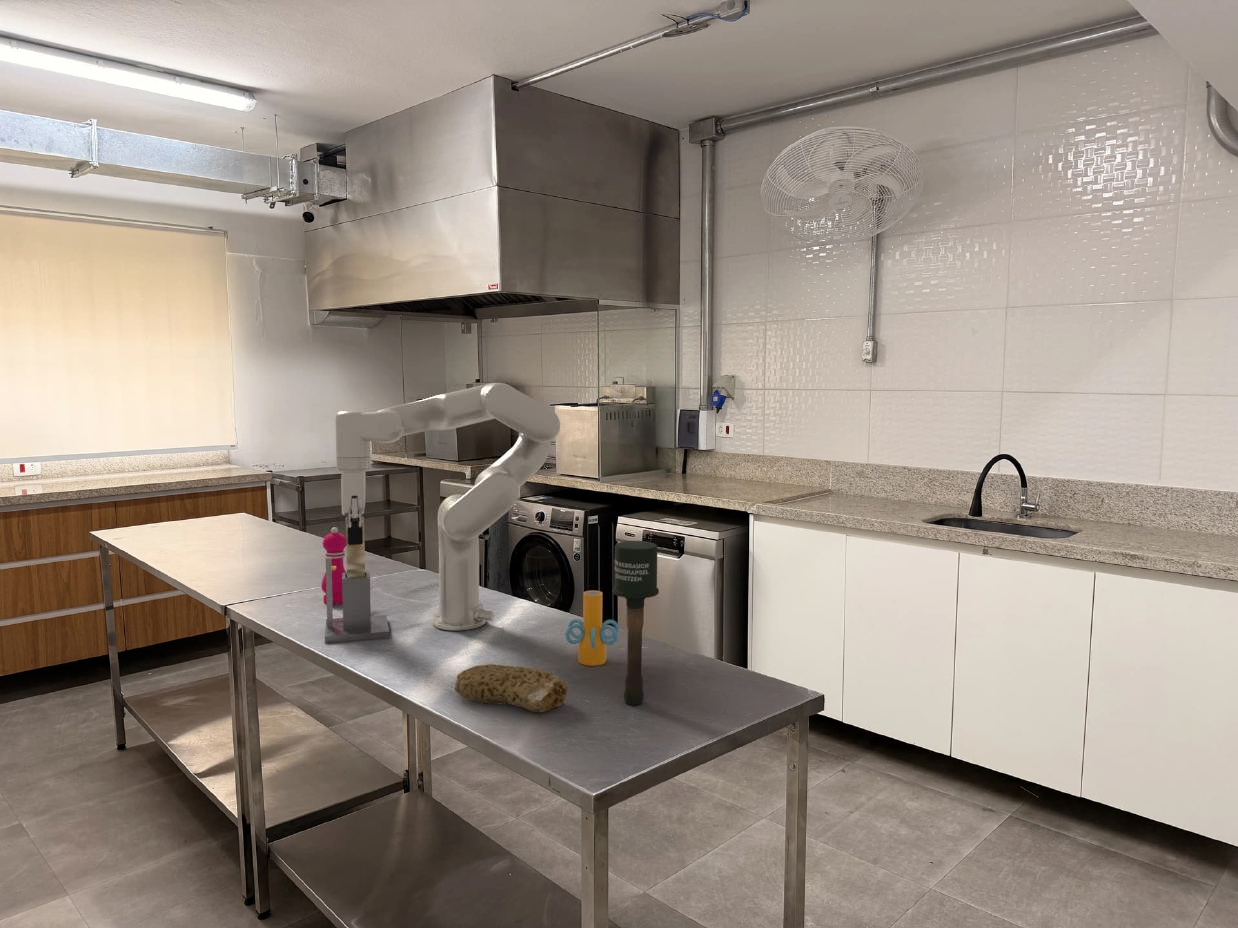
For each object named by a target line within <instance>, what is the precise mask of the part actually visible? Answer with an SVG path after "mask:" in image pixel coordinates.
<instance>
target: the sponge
mask: <svg viewBox="0 0 1238 928" xmlns="http://www.w3.org/2000/svg"><path fill="white" fill-rule="evenodd" d="M456 679H457V680H456V682H455V684H454V686H455V687H454V691H455V692H456V694H458V695H459V696H461V698H463V699H466V700H469V701H471V702H477V703H481V704H494V705H497V704H499V703H502V704H504V703H508V704H507V705H513V706H518V707H521V708H524V709H526V710H529V711H530V712H533V713H534V712H535V713H544V712H547V711H549V710H550V709H556V708H555V707H557V708H560V707H561V706H562V705H563V704H564V703H565V699H566V696H567V694H568V692H569V687H568V682H567V681H565V680H564V679H563V678H561V677H560V676H557V675H554V674H553V673H551V672H548V671H546V670H544V669H538V668H537V669H536V668H532V667H522V666H509V665H503V664H481V665H474V666H472V667H469V668H466V669H464V670H463V671H461V672H460V673H458V674H457V675H456ZM499 705H500V704H499ZM553 707H554V708H553Z"/></svg>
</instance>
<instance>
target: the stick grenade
mask: <svg viewBox="0 0 1238 928" xmlns="http://www.w3.org/2000/svg"><path fill="white" fill-rule="evenodd" d="M613 579H614V582H613V587H612V590H611V592H612V594H613V595H615V596H616V597H621V598H624V599H625V600H626V601H625V602H626V627H627V653H626V655H627V656H626V657H627V658H626V659H627V662H626V663H627V667H626V671H627V672H626V676H625V680H624V682H625V683H624V684H625V685H624V692H623V693H624V694H623V699H624V702H625V703H626V704H627V703H628V704H627V705H629V704H630V705H631V706H638V704H639V705H641V704H642V703H643V701H644V696H645V695H644V680H643V679H644V678H643V675H642V660H643V659H642V656H643V654H642V653H643V652H642V651H643V649H642V648H643V628H644V623H645V622H644V620H645V619H644V616H645V612H644V611H645V600H646V599H650V598H653V597H656V596H657V595H659V593H660V589H659V588H658V586H657V585H658V545H657V544H656V543H654V542H650V541H646V540H645V541H644V540H625V541H620V542H617V543H616V544H615V546H614V578H613ZM640 703H641V704H640Z"/></svg>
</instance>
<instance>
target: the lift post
mask: <svg viewBox="0 0 1238 928" xmlns="http://www.w3.org/2000/svg"><path fill="white" fill-rule="evenodd" d="M348 527H349V516H345V538H346V547H345V549H346V551H345V553H346V573H347V578H358V577H365V572H366V555H365V554H366V553H365V552H366V551H365V550H366V549H365V544H366V543H365V517H364V516H361V527H362V531H363V544H360V545H349V544H348Z"/></svg>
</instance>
